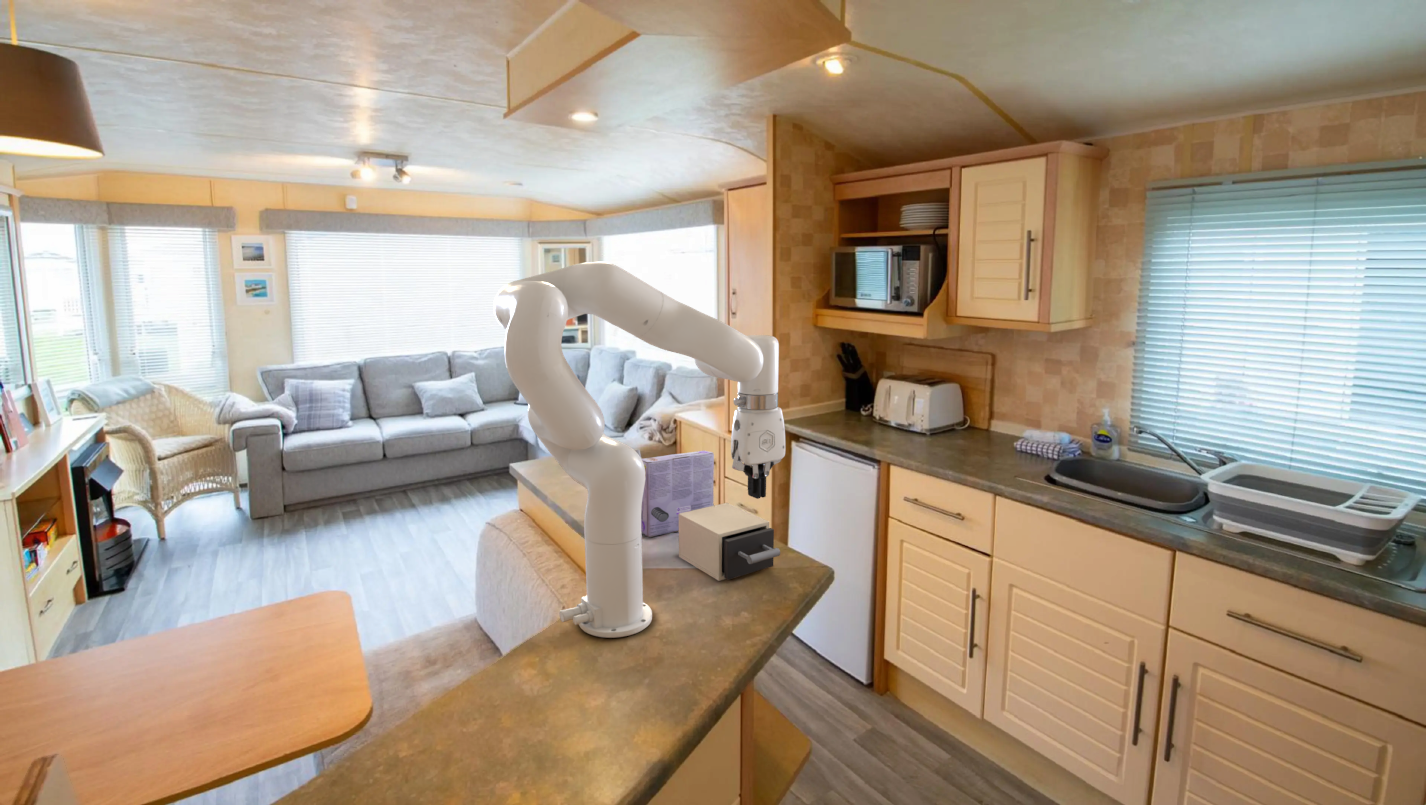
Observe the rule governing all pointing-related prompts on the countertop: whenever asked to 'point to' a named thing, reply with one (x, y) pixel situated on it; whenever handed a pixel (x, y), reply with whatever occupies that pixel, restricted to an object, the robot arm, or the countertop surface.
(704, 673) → the countertop surface
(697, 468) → the cake pan box
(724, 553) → the black drawer
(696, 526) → the cream drawer cabinet
